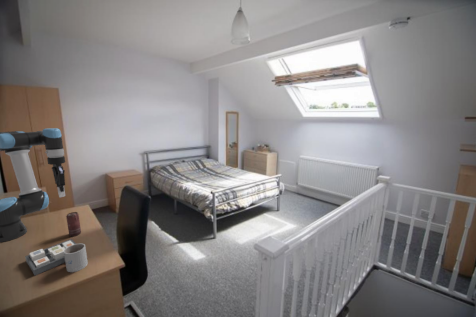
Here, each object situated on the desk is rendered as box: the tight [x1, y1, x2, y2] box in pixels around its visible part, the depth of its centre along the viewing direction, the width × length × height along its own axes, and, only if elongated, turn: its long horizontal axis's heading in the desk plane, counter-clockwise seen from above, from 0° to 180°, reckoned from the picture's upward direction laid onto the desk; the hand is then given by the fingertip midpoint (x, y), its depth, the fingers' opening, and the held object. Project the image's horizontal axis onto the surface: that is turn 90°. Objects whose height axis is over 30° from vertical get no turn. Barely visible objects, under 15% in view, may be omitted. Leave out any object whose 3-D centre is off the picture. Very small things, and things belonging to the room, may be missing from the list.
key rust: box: [34, 256, 50, 268], centre depth 109 cm, size 5×5×3 cm
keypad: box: [24, 238, 77, 277], centre depth 116 cm, size 17×20×3 cm
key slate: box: [28, 248, 46, 262], centre depth 113 cm, size 5×5×3 cm
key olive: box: [48, 244, 62, 257], centre depth 119 cm, size 5×5×3 cm
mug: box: [64, 243, 89, 273], centre depth 110 cm, size 12×9×10 cm
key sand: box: [52, 247, 65, 260], centre depth 114 cm, size 5×5×3 cm
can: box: [65, 211, 82, 237], centre depth 137 cm, size 6×6×14 cm
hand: (62, 196), depth 126 cm, fingers closed
